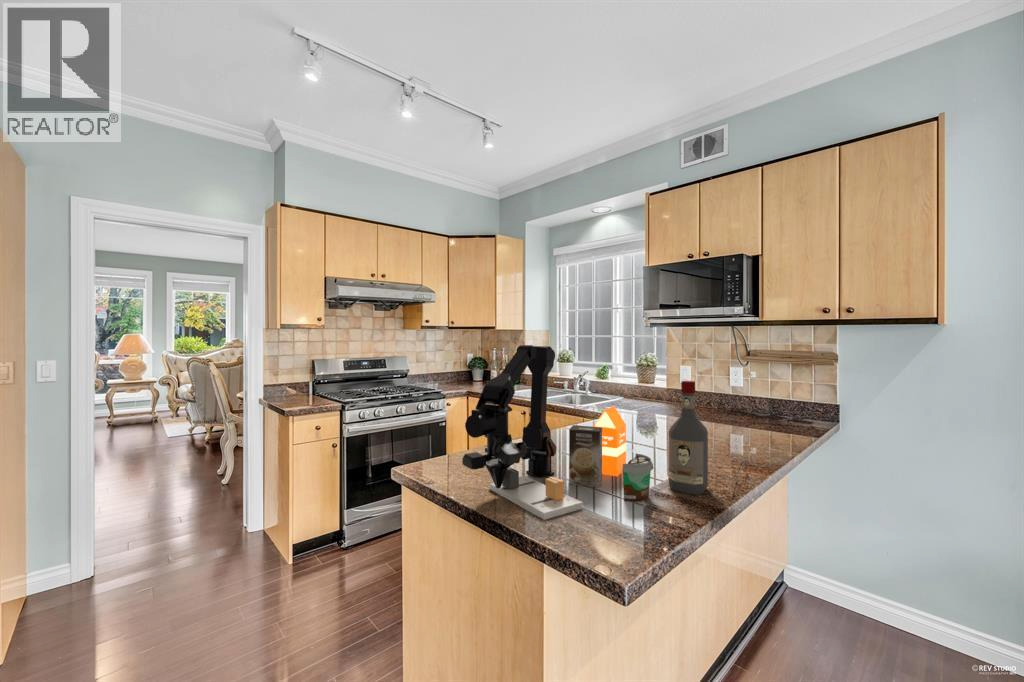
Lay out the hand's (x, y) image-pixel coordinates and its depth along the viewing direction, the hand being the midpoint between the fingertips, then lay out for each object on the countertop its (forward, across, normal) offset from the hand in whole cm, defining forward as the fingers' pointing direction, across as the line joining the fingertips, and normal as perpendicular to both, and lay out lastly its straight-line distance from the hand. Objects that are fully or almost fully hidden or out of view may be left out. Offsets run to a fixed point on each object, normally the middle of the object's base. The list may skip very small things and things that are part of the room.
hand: (498, 488), depth 120 cm
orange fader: (0, +9, -13) cm, 16 cm away
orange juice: (+3, +41, -1) cm, 41 cm away
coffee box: (+2, +27, -5) cm, 27 cm away
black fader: (0, +4, 0) cm, 4 cm away
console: (+2, +7, -6) cm, 10 cm away
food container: (+2, +31, -22) cm, 38 cm away
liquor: (+3, +47, -25) cm, 53 cm away
